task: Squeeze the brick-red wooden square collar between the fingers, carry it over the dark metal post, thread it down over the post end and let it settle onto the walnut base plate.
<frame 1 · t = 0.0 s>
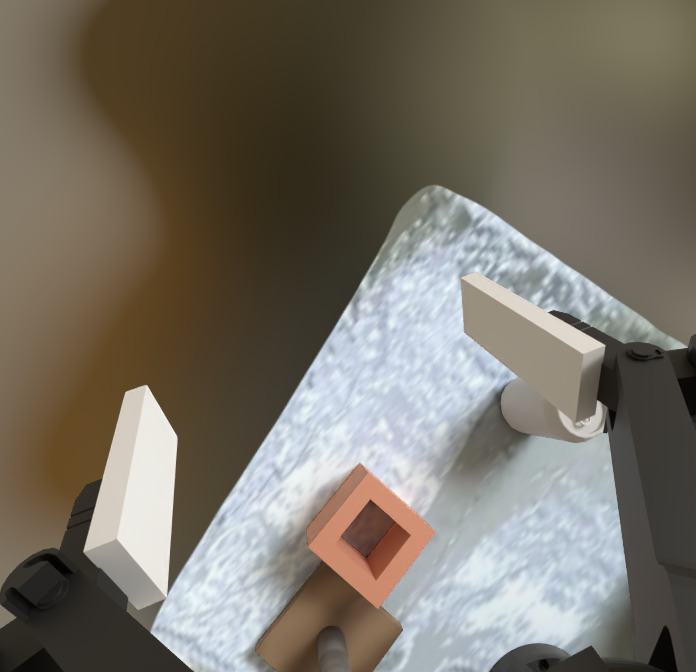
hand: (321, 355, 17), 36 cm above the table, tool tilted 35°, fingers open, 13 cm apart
post stand: (329, 633, 49), on the table
collar: (364, 522, 51), on the table
can: (523, 404, 56), on the table
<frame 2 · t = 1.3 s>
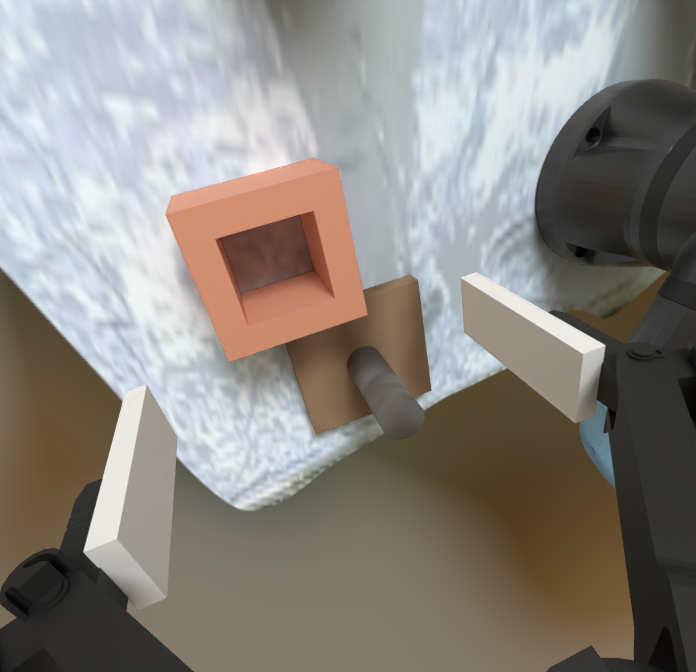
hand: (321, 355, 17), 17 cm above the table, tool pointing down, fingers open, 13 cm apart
post stand: (358, 353, 38), on the table
collar: (266, 245, 31), on the table
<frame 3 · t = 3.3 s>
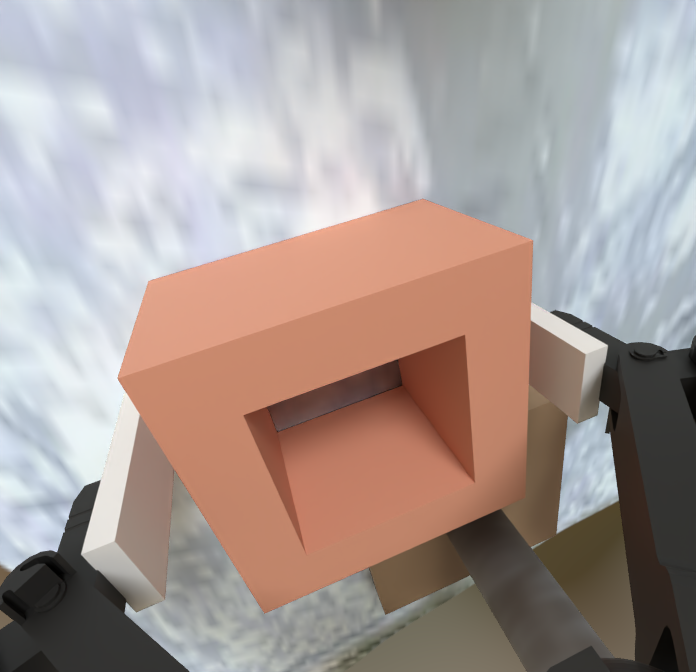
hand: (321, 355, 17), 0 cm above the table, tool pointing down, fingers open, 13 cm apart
post stand: (454, 493, 24), on the table
collar: (326, 354, 17), on the table
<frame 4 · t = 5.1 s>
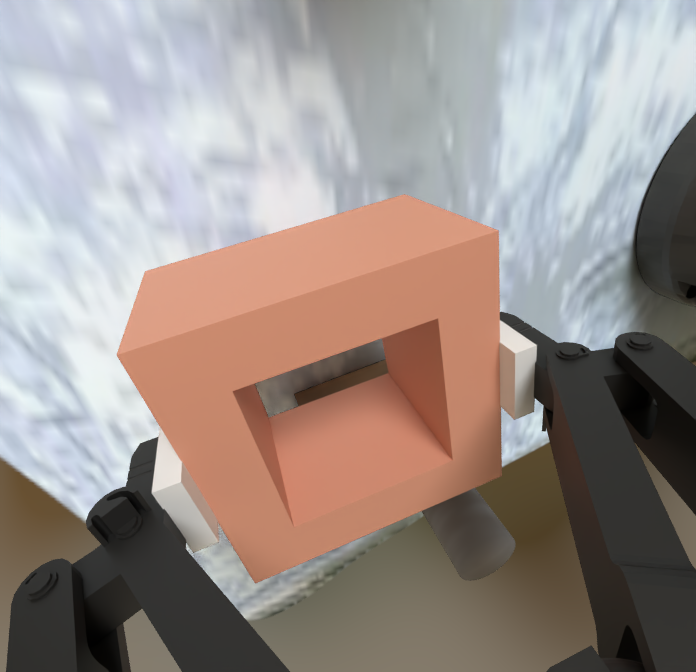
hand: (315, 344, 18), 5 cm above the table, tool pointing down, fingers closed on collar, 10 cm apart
post stand: (399, 428, 29), on the table
collar: (314, 342, 18), point 4 cm above the table, touching gripper
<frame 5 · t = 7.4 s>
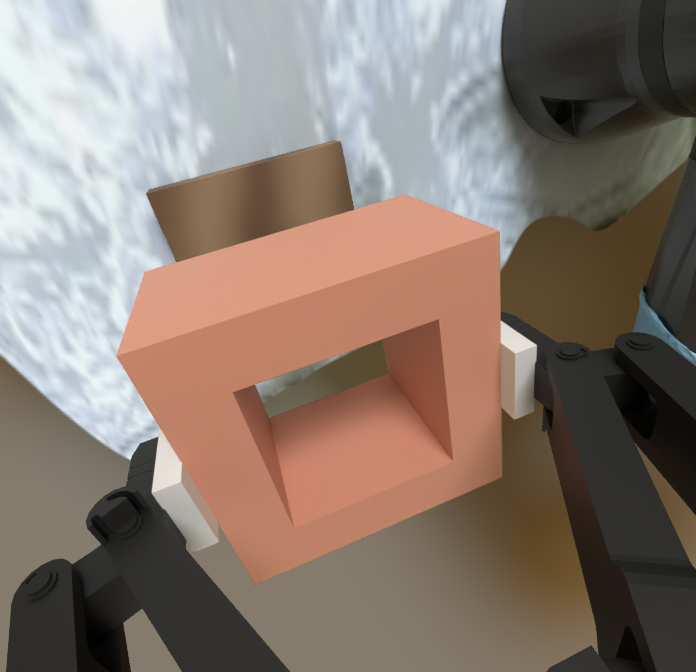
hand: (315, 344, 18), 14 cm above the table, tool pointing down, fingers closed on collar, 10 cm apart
post stand: (273, 253, 29), on the table
collar: (314, 342, 18), point 13 cm above the table, touching gripper
when the fingers open (3 cm above the table, at t = 9.9 s): collar stays where it is, resting on post stand.
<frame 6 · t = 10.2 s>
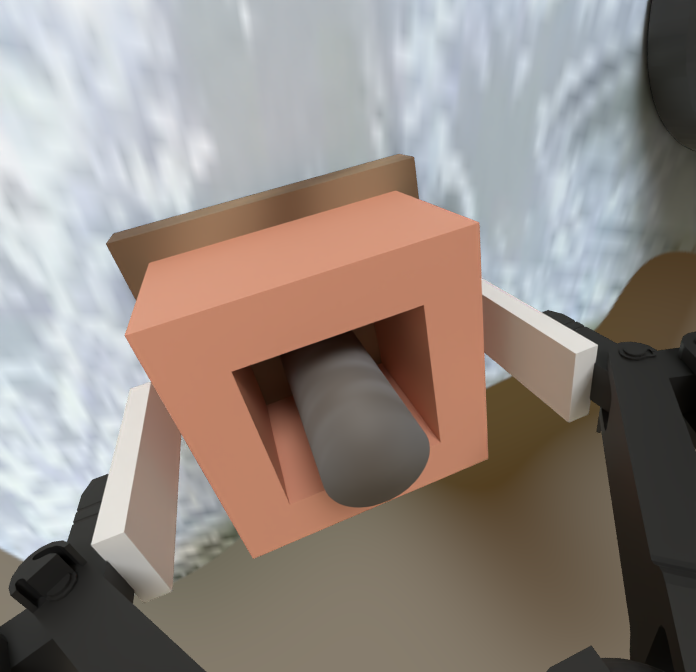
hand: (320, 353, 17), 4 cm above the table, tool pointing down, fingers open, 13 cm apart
post stand: (302, 317, 20), on the table
collar: (310, 332, 19), point 1 cm above the table, touching post stand
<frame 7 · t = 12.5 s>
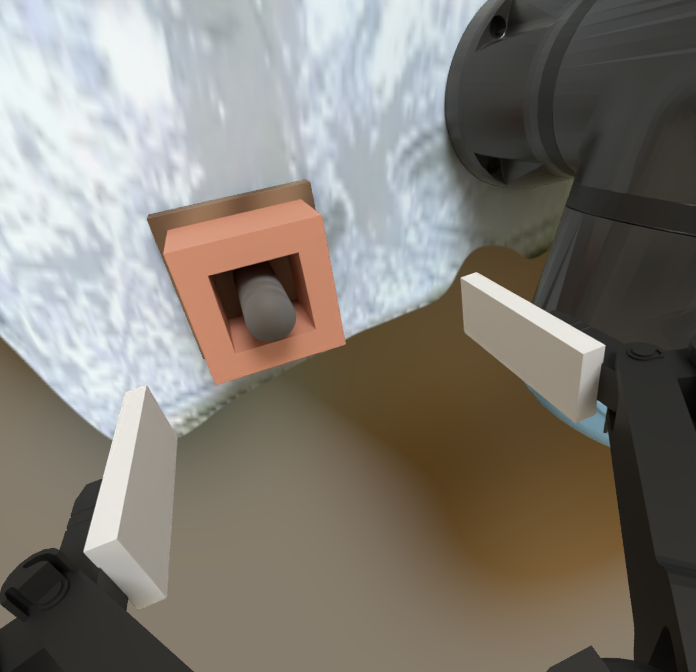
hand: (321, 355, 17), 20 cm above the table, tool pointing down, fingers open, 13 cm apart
post stand: (251, 269, 35), on the table
collar: (254, 276, 33), point 1 cm above the table, touching post stand
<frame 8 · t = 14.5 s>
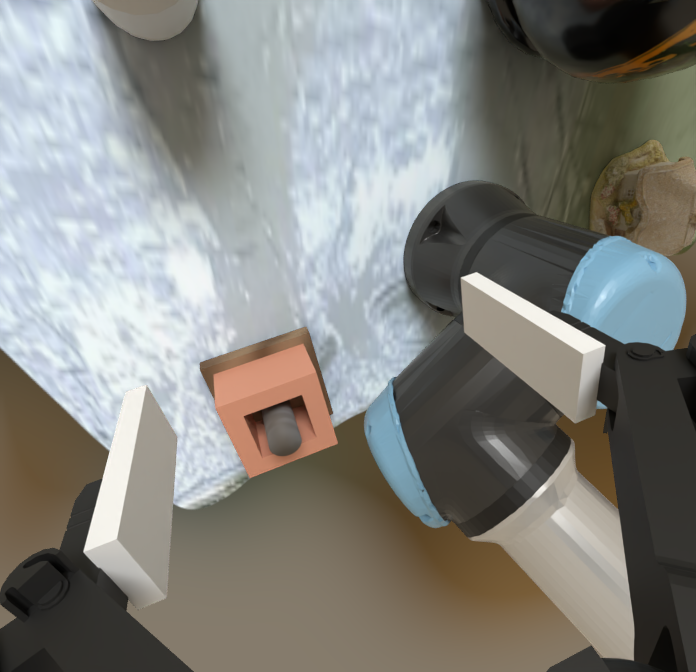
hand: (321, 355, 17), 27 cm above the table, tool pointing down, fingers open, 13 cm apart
post stand: (270, 386, 48), on the table
collar: (272, 393, 47), point 1 cm above the table, touching post stand
ceramic model: (622, 202, 53), on the table
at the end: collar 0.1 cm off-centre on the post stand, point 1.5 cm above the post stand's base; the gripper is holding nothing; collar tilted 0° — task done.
